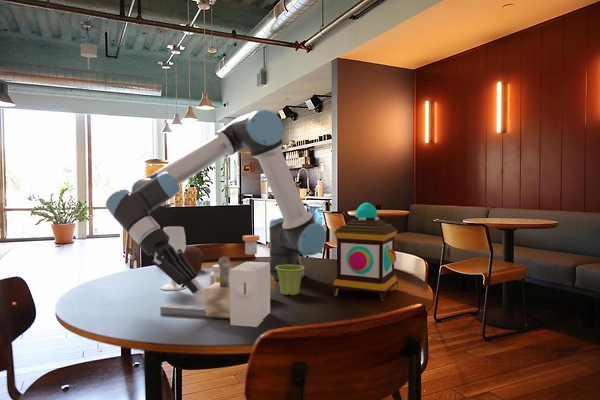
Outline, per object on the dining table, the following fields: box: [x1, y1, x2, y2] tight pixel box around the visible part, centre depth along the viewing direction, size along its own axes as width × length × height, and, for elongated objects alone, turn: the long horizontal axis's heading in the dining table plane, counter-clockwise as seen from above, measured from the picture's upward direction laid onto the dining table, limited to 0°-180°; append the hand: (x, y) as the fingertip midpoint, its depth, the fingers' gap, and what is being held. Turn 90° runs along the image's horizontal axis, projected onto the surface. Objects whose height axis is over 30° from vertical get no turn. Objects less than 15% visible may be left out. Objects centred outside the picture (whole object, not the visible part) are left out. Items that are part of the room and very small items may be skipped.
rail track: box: [159, 303, 230, 320], centre depth 112 cm, size 22×3×2 cm, turn 78°
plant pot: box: [276, 265, 305, 296], centre depth 135 cm, size 9×9×9 cm
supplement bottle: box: [209, 263, 220, 286], centre depth 132 cm, size 5×5×10 cm
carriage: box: [204, 256, 231, 317], centre depth 110 cm, size 8×7×15 cm
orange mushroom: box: [242, 234, 260, 255], centre depth 108 cm, size 4×4×5 cm
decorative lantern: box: [332, 202, 399, 301], centre depth 136 cm, size 20×20×30 cm
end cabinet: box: [229, 261, 271, 328], centre depth 108 cm, size 7×13×14 cm, turn 168°
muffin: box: [183, 245, 205, 273], centre depth 172 cm, size 12×11×10 cm
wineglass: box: [160, 226, 187, 291], centre depth 142 cm, size 9×9×21 cm
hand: (206, 299), depth 111 cm, fingers closed
